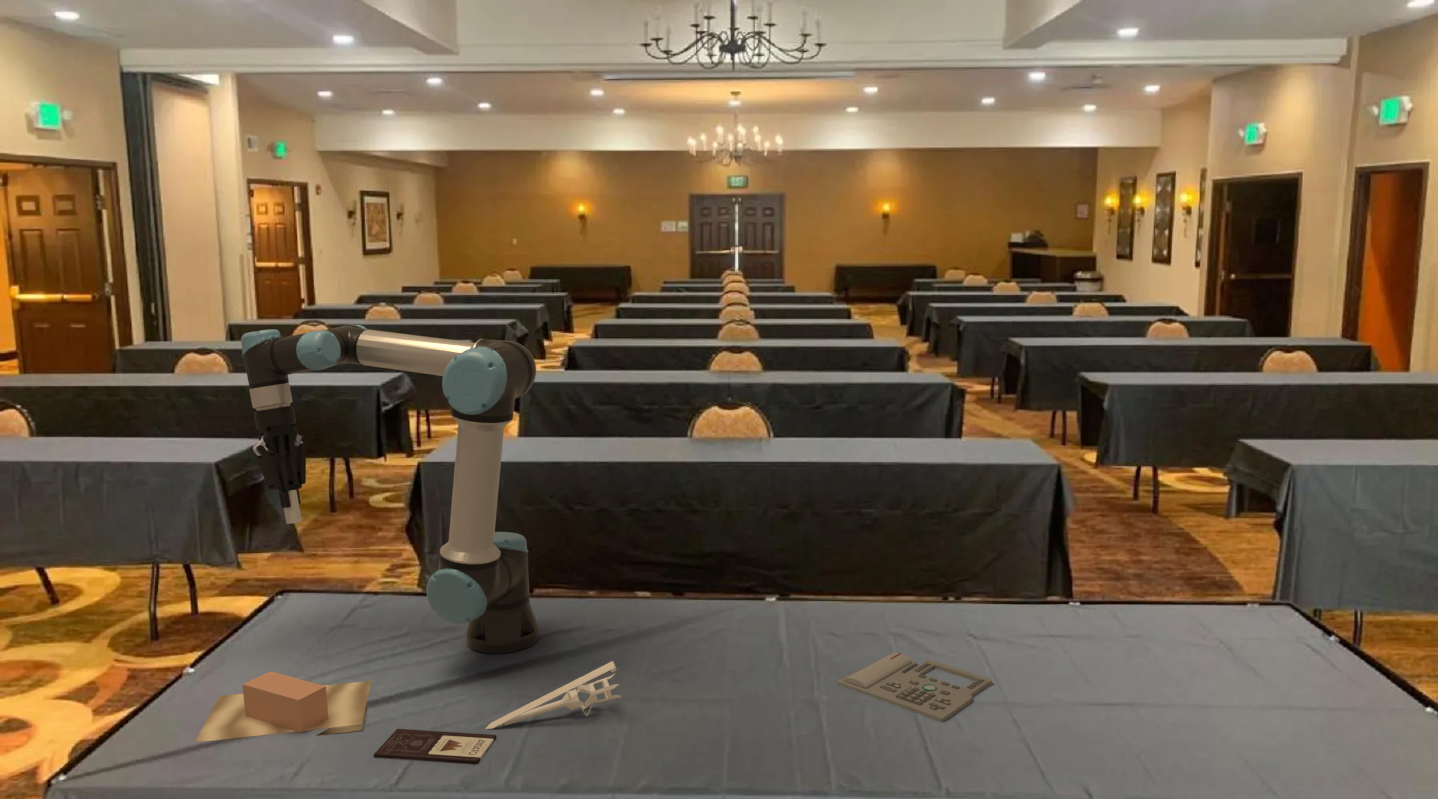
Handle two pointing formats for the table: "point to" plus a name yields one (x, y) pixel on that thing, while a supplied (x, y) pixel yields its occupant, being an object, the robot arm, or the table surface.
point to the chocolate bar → (436, 746)
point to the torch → (568, 700)
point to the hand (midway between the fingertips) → (294, 522)
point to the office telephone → (915, 686)
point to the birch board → (232, 723)
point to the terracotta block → (285, 701)
